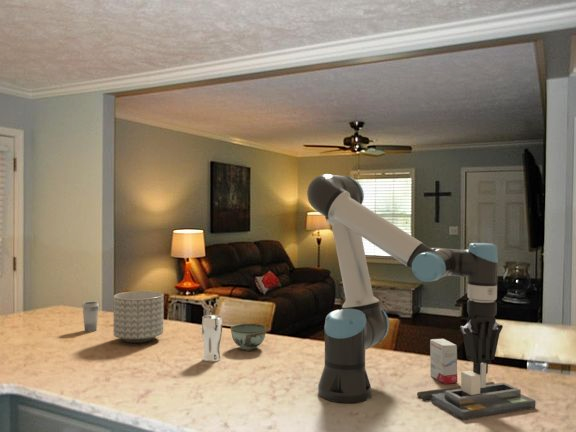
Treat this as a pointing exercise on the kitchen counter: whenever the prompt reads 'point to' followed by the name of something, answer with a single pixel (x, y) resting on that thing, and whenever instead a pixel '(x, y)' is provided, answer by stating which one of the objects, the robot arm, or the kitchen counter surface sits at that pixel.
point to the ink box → (443, 360)
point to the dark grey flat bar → (439, 391)
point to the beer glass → (211, 337)
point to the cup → (90, 315)
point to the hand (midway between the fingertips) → (480, 385)
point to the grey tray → (483, 401)
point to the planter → (138, 315)
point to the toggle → (470, 383)
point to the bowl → (248, 335)
